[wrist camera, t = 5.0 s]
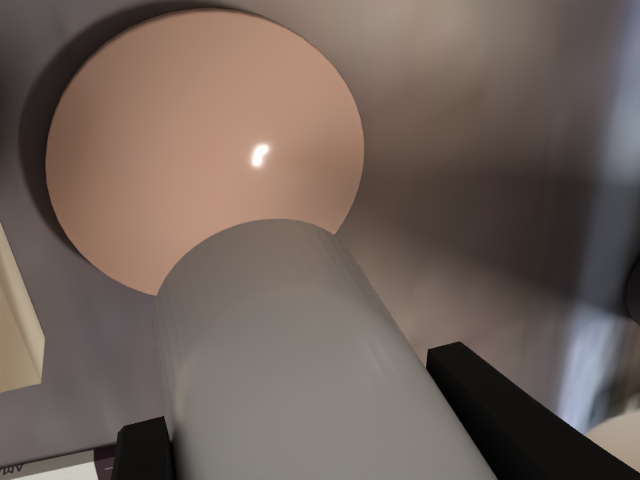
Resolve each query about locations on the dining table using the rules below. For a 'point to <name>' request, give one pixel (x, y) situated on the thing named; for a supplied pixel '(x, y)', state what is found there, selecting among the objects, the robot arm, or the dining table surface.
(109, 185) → the terracotta saucer
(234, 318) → the light gray cylinder
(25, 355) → the birch holder
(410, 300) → the dining table surface
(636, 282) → the bottle
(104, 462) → the chocolate bar
